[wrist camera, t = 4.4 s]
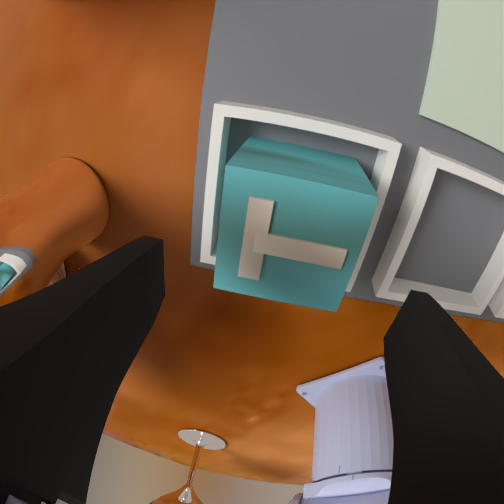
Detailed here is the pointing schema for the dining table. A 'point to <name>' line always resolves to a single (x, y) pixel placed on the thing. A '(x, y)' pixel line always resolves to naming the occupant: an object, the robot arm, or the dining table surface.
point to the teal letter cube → (292, 223)
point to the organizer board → (373, 130)
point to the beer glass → (48, 225)
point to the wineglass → (185, 499)
